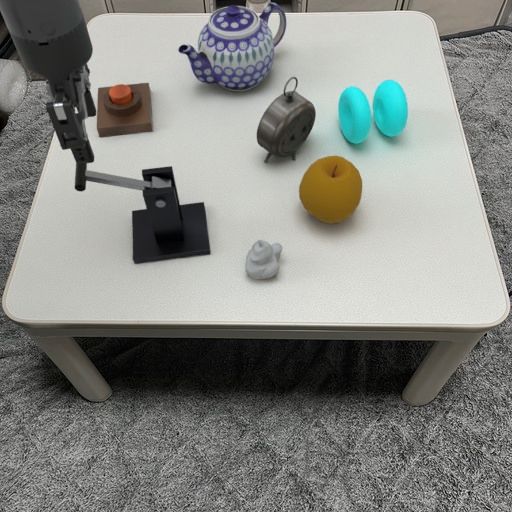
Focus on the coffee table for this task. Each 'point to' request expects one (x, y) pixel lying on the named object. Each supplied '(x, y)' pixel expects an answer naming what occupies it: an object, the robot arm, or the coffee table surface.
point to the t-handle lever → (115, 180)
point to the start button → (120, 94)
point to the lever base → (167, 223)
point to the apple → (331, 189)
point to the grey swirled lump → (263, 259)
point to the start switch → (124, 112)
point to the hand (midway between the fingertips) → (87, 137)
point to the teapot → (235, 47)
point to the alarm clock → (286, 124)
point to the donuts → (384, 110)
